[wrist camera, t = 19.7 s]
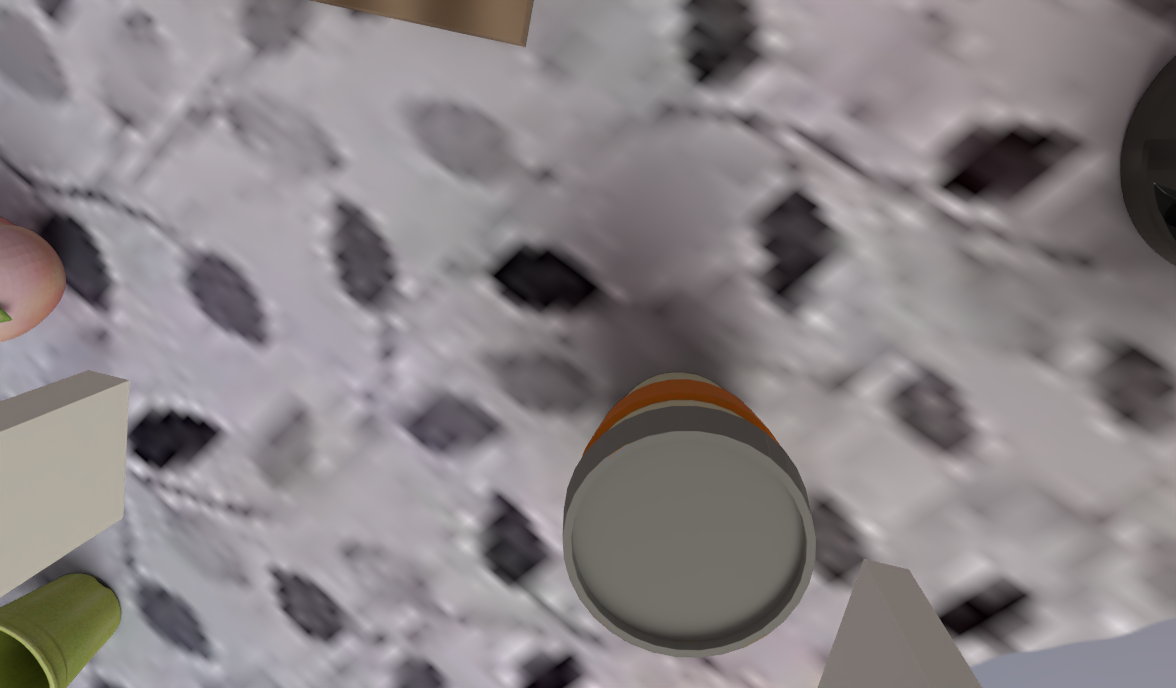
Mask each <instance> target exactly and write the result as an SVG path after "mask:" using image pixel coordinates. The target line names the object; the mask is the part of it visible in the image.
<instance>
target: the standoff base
mask: <svg viewBox="0 0 1176 688" xmlns="http://www.w3.org/2000/svg"><path fill="white" fill-rule="evenodd" d="M311 1H315V2H320V3H325V4H329V5H334V6H339V7H343V8H348V9H352V10H357V11H362V12H366V13H371V14H376V15H380V16H385V17H389V18H394V19H399V20H403V21H408V22H413V23H417V24H422V25H426V26H431V27H436V28H440V29H445V30H449V31H454V32H459V33H463V34H468V35H473V36H477V37H482V38H486V39H491V40H496V41H500V42H505V43H510V44H514V45H519V46H523V47H526V41H527V35H528V30H529V24H530V19H531V13H532V7H533V2H534V0H311Z"/></svg>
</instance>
